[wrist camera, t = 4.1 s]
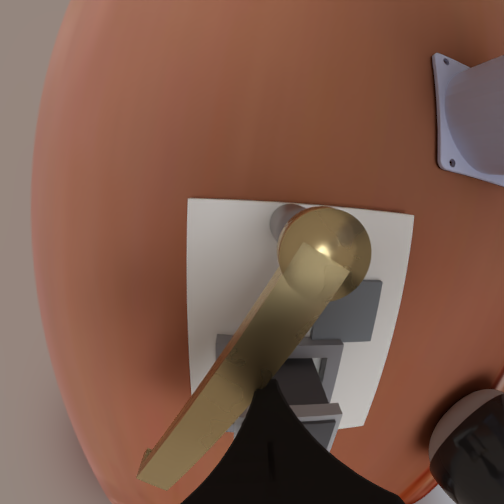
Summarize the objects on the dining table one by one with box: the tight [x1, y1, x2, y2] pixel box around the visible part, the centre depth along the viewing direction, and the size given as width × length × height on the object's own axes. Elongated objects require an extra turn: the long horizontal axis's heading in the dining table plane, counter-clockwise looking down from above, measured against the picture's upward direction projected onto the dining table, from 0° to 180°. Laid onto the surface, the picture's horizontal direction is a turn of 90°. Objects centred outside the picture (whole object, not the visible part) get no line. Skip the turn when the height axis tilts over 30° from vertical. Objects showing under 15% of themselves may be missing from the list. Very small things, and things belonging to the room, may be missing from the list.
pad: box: [310, 280, 383, 342], centre depth 15 cm, size 4×4×1 cm
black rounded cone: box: [429, 389, 504, 504], centre depth 12 cm, size 10×10×15 cm
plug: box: [234, 358, 343, 452], centre depth 14 cm, size 5×5×6 cm
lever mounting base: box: [187, 198, 414, 432], centre depth 14 cm, size 12×15×7 cm
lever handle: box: [136, 206, 372, 491], centre depth 10 cm, size 3×14×2 cm, turn 149°
